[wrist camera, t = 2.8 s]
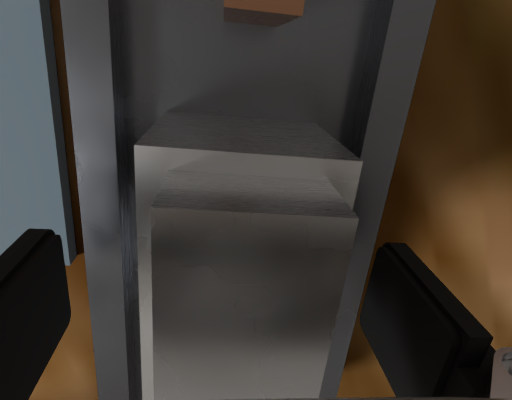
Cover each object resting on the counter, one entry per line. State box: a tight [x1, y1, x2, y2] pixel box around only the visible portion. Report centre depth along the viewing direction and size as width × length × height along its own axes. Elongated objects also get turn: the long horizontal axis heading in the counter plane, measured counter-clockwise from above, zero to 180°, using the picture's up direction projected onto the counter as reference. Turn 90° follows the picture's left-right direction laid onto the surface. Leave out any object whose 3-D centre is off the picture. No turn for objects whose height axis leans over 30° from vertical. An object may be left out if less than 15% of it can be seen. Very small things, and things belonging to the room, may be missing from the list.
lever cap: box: [134, 111, 363, 400], centre depth 11 cm, size 9×5×6 cm, turn 174°
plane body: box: [60, 0, 436, 400], centre depth 13 cm, size 22×10×7 cm, turn 174°
